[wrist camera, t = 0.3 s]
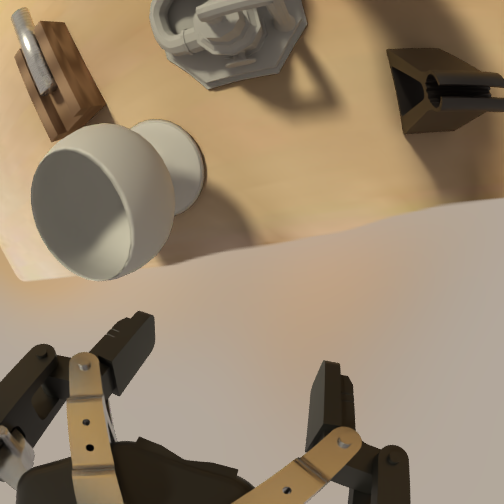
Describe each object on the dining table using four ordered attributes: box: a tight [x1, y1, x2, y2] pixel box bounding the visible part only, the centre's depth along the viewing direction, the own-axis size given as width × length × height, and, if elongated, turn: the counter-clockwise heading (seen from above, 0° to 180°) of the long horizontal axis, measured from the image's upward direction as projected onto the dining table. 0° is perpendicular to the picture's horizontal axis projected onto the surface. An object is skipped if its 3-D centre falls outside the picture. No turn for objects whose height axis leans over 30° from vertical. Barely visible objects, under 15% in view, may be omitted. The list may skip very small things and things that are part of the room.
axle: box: [11, 8, 58, 96], centre depth 23 cm, size 16×3×3 cm, turn 29°
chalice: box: [31, 119, 204, 281], centre depth 27 cm, size 14×14×15 cm
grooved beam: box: [15, 21, 106, 142], centre depth 27 cm, size 16×7×5 cm, turn 29°
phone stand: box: [386, 48, 504, 134], centre depth 18 cm, size 9×6×12 cm, turn 15°
